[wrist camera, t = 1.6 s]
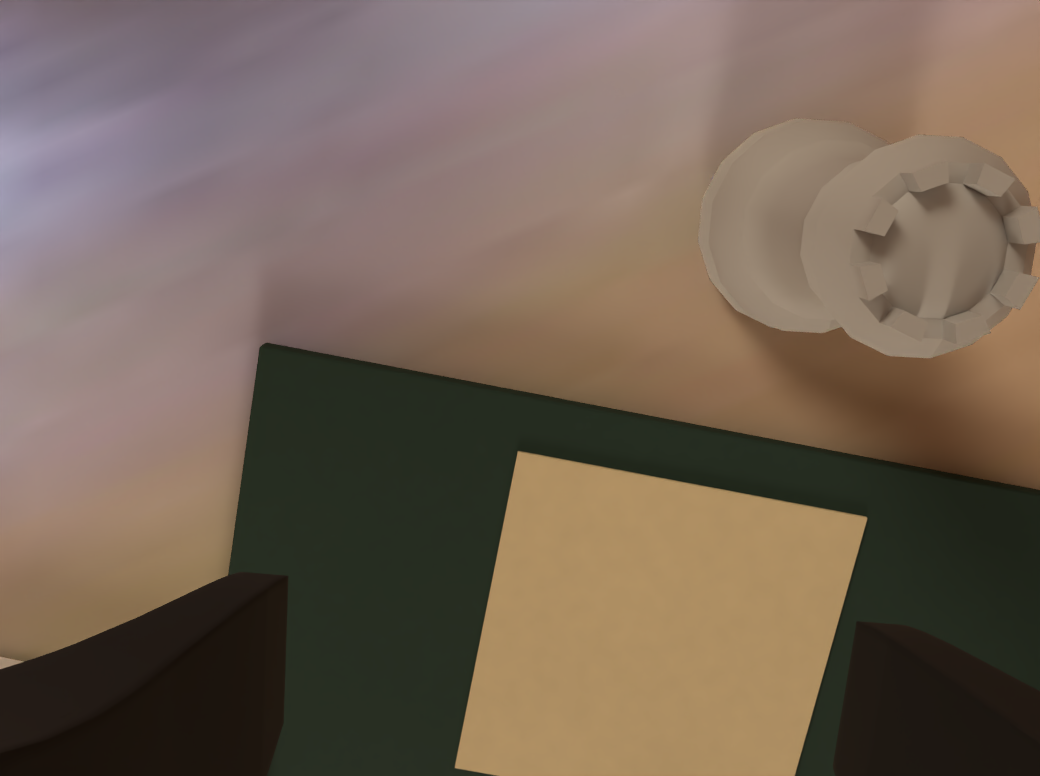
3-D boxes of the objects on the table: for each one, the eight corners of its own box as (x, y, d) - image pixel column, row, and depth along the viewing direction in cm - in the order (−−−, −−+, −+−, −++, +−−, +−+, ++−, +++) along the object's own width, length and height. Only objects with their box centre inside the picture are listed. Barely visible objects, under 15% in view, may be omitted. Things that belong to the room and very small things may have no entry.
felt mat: (1127, 506, 22) (1143, 515, 22) (994, 896, 25) (1005, 913, 24) (265, 341, 22) (258, 346, 21) (207, 755, 24) (199, 769, 24)
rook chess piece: (906, 312, 22) (1119, 390, 14) (704, 340, 22) (801, 432, 14) (894, 104, 21) (1115, 61, 13) (683, 134, 21) (774, 110, 13)
